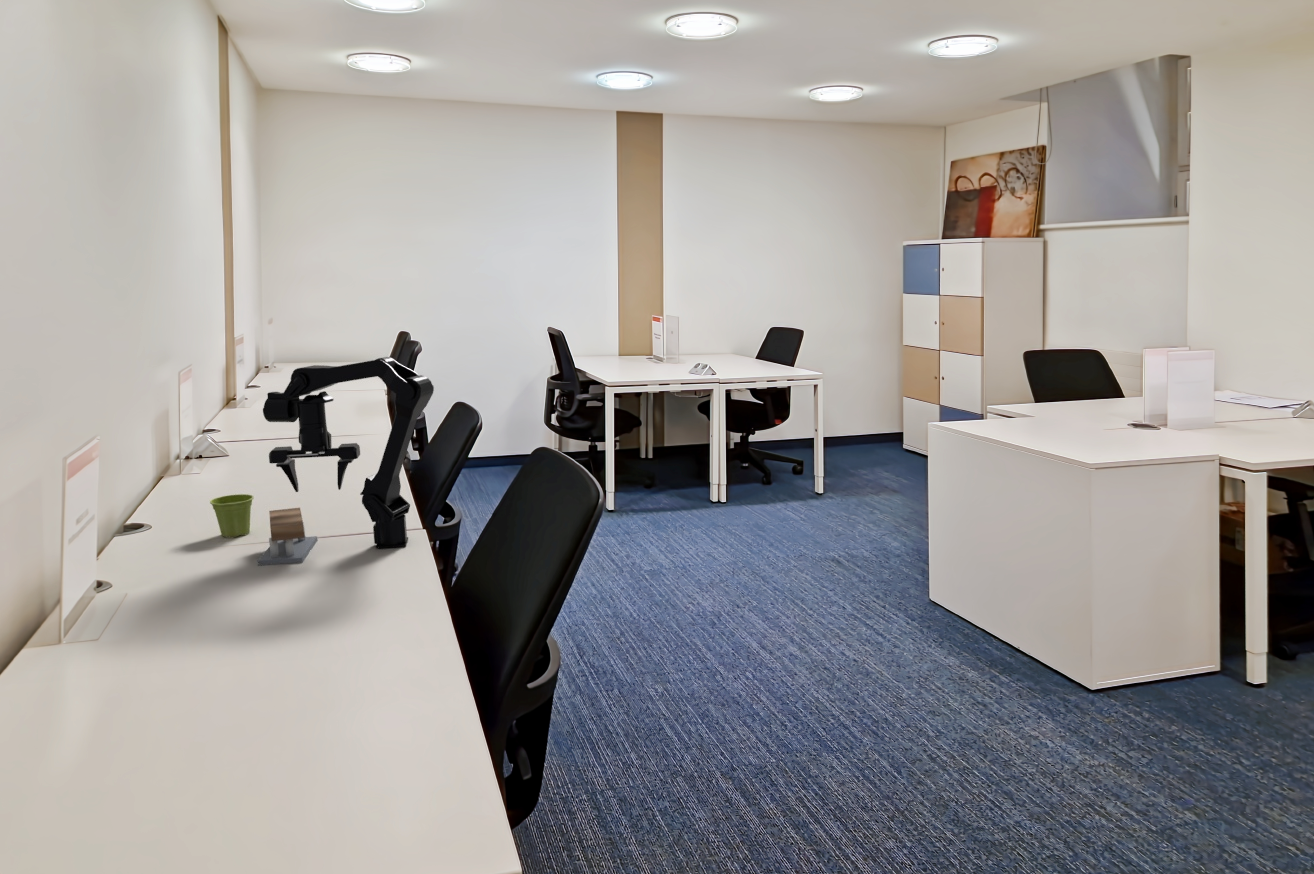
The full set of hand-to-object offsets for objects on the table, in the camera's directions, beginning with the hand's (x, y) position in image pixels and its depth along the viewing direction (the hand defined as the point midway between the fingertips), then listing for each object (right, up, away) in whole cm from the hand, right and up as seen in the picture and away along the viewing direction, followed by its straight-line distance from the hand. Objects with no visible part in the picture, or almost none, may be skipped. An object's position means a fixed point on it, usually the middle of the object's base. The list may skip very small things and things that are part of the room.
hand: (318, 490), depth 214 cm
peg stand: (-4, -13, -6) cm, 15 cm away
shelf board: (-5, -8, -7) cm, 12 cm away
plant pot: (-23, -11, +10) cm, 28 cm away
